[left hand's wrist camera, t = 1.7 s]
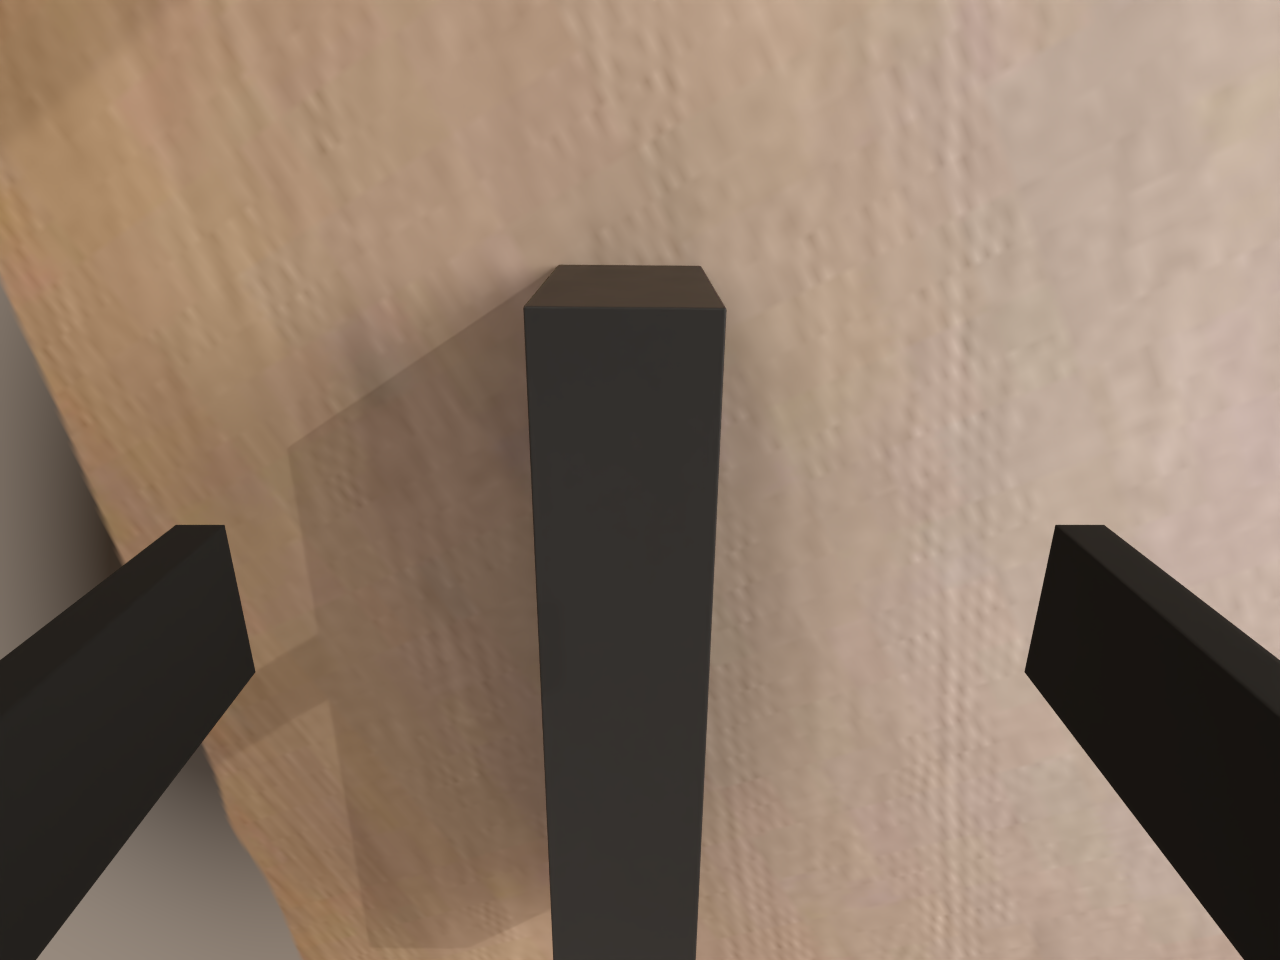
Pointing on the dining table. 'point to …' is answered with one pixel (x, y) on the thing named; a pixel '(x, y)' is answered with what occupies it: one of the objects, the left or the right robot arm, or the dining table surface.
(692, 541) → the bar
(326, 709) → the dining table surface
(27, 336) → the dining table surface
